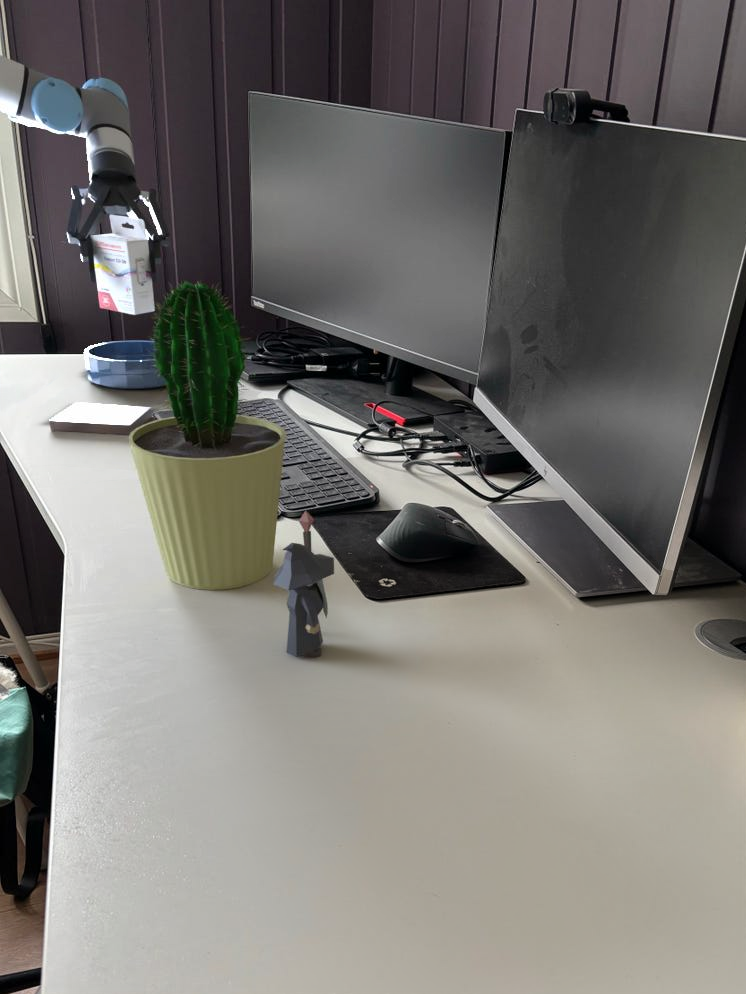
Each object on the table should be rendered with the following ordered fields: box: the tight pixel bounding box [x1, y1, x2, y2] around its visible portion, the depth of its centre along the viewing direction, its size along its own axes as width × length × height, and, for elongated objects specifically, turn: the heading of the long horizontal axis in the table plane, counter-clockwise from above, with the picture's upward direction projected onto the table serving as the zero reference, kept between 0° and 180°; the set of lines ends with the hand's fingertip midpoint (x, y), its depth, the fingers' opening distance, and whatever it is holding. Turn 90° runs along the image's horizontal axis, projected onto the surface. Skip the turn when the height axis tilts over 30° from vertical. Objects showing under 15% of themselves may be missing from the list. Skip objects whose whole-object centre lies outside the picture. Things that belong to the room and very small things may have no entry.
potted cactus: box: [128, 279, 287, 591], centre depth 97 cm, size 15×15×30 cm
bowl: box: [83, 340, 166, 390], centre depth 169 cm, size 16×16×5 cm
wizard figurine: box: [273, 510, 335, 658], centre depth 87 cm, size 8×6×12 cm
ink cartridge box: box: [91, 214, 156, 316], centre depth 161 cm, size 9×5×15 cm, turn 62°
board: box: [48, 402, 154, 436], centre depth 146 cm, size 12×10×2 cm
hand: (123, 277), depth 159 cm, fingers closed on ink cartridge box, 9 cm apart
